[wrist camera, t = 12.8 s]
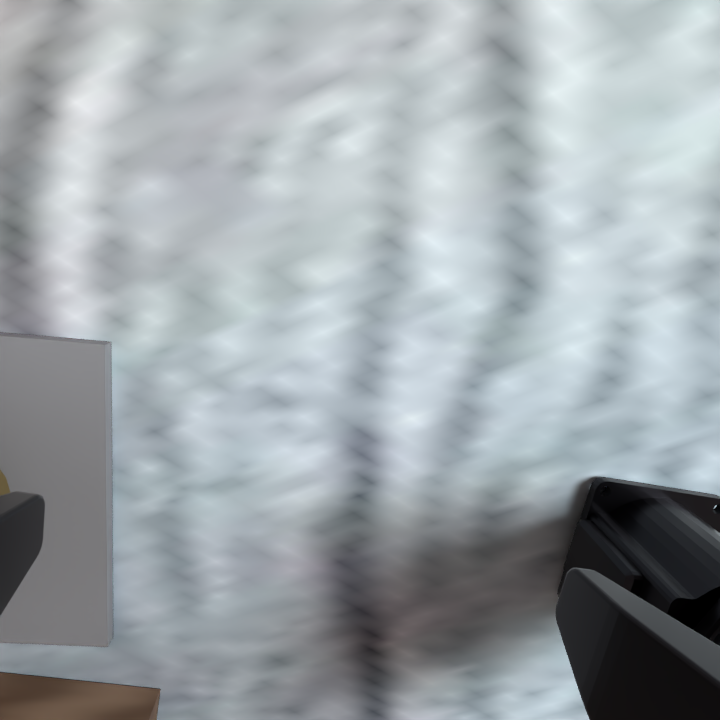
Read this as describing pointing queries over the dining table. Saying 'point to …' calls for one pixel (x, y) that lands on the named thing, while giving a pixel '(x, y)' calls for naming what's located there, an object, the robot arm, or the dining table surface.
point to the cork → (3, 484)
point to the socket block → (73, 700)
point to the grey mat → (60, 485)
